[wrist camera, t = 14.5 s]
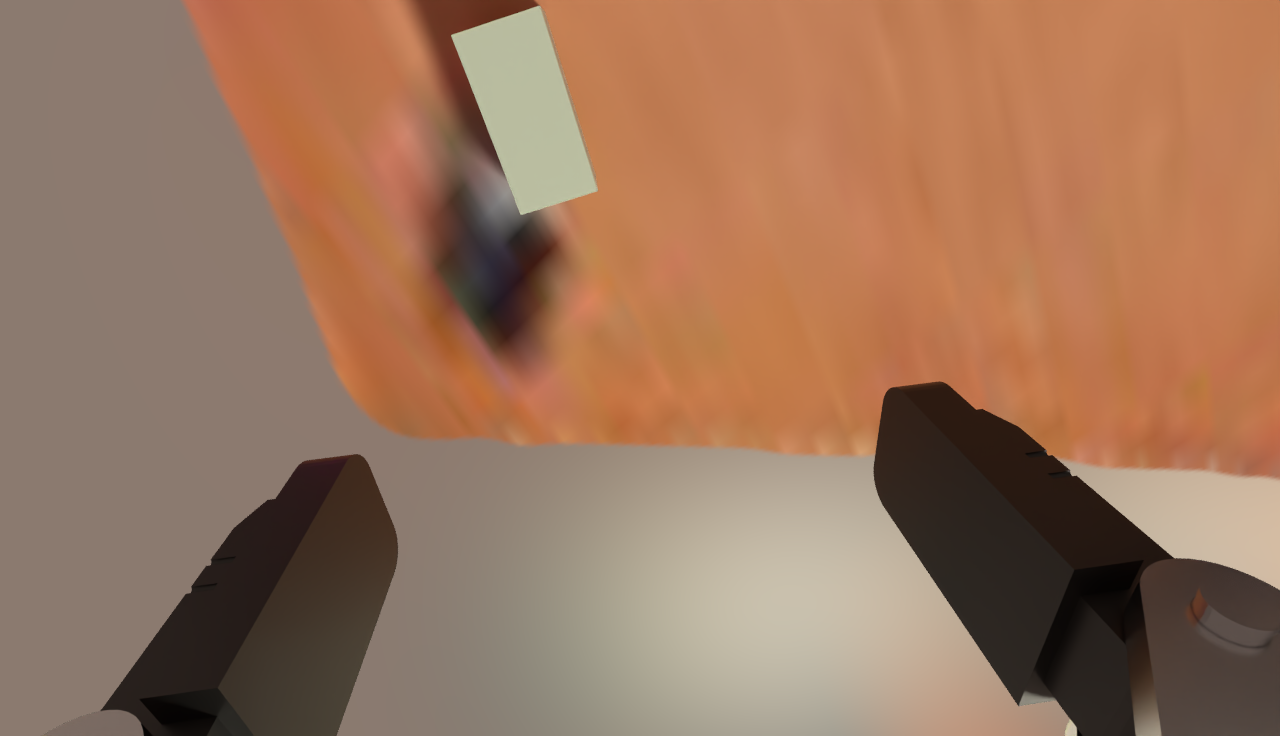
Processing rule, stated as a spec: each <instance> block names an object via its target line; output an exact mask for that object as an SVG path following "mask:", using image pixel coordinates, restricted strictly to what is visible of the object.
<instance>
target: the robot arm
mask: <svg viewBox="0 0 1280 736" xmlns="http://www.w3.org/2000/svg"><path fill="white" fill-rule="evenodd" d="M1046 451H1047V450H1045V449H1044V448H1043V447H1042V446H1041V445H1040V444H1038V443H1037V442H1036V441H1035V440H1034V439H1032V438H1031V437H1030V436H1029V435H1028V434H1027V433H1025V432H1024V431H1023V430H1022V429H1021V428H1019V427H1018V426H1016V425H1014V424H1012V423H1010V422H1008V421H1006V420H1004V419H1002V418H999V417H997V416H995V415H993V414H991V413H989V412H987V411H985V410H983V409H979V410H976V409H975V408H974V407H972V406H971V405H970V404H969V403H968V402H967V401H966V400H965V399H963V398H962V397H961V396H960V395H959V394H958V393H957V392H956V391H954V390H953V389H952V388H951V387H950V386H949V385H947V384H946V383H944V382H932V383H924V384H916V385H908V386H901V387H893V388H890V389H889V390H888V391H887V392H886V394H885V396H884V400H883V405H882V412H881V419H880V426H879V433H878V440H877V447H876V454H875V462H874V480H875V485H876V489H877V493H878V496H879V498H880V500H881V502H882V504H883V506H884V508H885V509H886V511H887V512H888V513H889V515H890V516H891V518H892V519H893V521H894V522H895V524H896V525H897V527H898V528H899V530H900V531H901V533H902V534H903V536H904V537H905V539H906V540H907V542H908V543H909V545H910V546H911V547H912V549H913V551H914V552H915V554H916V555H917V557H918V558H919V559H920V561H921V562H922V564H923V565H924V567H925V568H926V570H927V571H928V573H929V574H930V576H931V577H932V579H933V580H934V582H935V583H936V585H937V586H938V588H939V589H940V590H941V592H942V594H943V595H944V596H945V598H946V599H947V601H948V602H949V604H950V605H951V607H952V608H953V610H954V611H955V613H956V614H957V616H958V617H959V619H960V620H961V621H962V623H963V625H964V626H965V628H966V629H967V630H968V632H969V634H970V635H971V636H972V638H973V639H974V641H975V642H976V644H977V645H978V647H979V648H980V650H981V651H982V653H983V654H984V656H985V657H986V659H987V660H988V662H989V663H990V664H991V666H992V668H993V669H994V671H995V672H996V674H997V675H998V676H999V678H1000V679H1001V681H1002V682H1003V684H1004V685H1005V687H1006V688H1007V690H1008V691H1009V693H1010V694H1011V696H1012V697H1013V699H1014V700H1015V702H1016V703H1017V705H1018V706H1022V705H1029V704H1035V703H1042V702H1047V701H1055V700H1057V702H1058V703H1059V704H1060V706H1061V707H1062V709H1063V710H1064V711H1065V713H1066V714H1067V715H1068V717H1069V718H1070V720H1069V722H1068V724H1067V727H1066V729H1065V736H1280V590H1278V589H1277V588H1275V587H1273V586H1271V585H1270V584H1268V583H1266V582H1264V581H1261V580H1259V579H1257V578H1255V577H1253V576H1251V575H1248V574H1246V573H1243V572H1241V571H1238V570H1235V569H1233V568H1229V567H1226V566H1223V565H1220V564H1216V563H1211V562H1207V561H1202V560H1195V559H1181V558H1179V559H1178V558H1176V559H1175V558H1173V557H1172V556H1171V555H1169V554H1168V553H1167V552H1166V551H1165V550H1164V549H1162V548H1161V547H1160V546H1159V545H1158V544H1156V543H1155V542H1154V541H1153V540H1152V539H1151V538H1150V537H1148V536H1147V535H1146V534H1145V533H1144V532H1142V531H1141V530H1140V529H1139V528H1138V527H1136V526H1135V525H1134V524H1133V523H1132V522H1131V521H1129V520H1128V519H1127V518H1126V517H1125V516H1123V515H1122V514H1121V513H1120V512H1119V511H1118V510H1116V509H1115V508H1114V507H1113V506H1112V505H1110V504H1109V503H1108V502H1107V501H1106V500H1105V499H1103V498H1102V497H1101V496H1100V495H1099V494H1097V493H1096V492H1095V491H1094V490H1093V489H1092V488H1090V487H1089V486H1088V485H1087V484H1086V483H1084V482H1083V481H1082V480H1081V479H1080V478H1079V477H1077V476H1071V474H1070V470H1069V469H1068V468H1067V467H1066V466H1064V465H1063V464H1062V463H1061V462H1060V461H1058V460H1057V459H1056V458H1055V457H1054V456H1053V455H1050V456H1048V455H1047V453H1046ZM397 557H398V543H397V535H396V531H395V528H394V525H393V523H392V520H391V518H390V515H389V513H388V511H387V508H386V506H385V503H384V501H383V498H382V496H381V494H380V491H379V489H378V486H377V484H376V481H375V479H374V477H373V474H372V472H371V469H370V467H369V464H368V463H367V461H366V460H365V458H364V457H362V456H361V455H358V454H355V455H347V456H340V457H332V458H323V459H315V460H309V461H308V460H307V461H304V462H302V463H301V464H300V465H299V466H298V467H297V468H296V469H295V471H294V472H293V474H292V475H291V477H290V478H289V480H288V481H287V483H286V484H285V486H284V487H283V488H282V490H281V491H280V493H279V494H278V496H277V497H276V499H272V500H267V501H266V502H265V503H263V504H262V505H261V506H260V507H259V508H258V509H256V510H255V511H254V512H253V513H252V514H250V515H249V516H248V517H247V518H245V519H244V520H243V521H242V522H241V523H239V524H238V525H237V526H236V527H235V528H234V529H233V530H232V531H231V533H230V534H229V535H228V537H227V538H226V540H225V541H224V543H223V544H222V545H221V547H220V548H219V549H218V551H217V552H216V553H215V555H214V556H213V557H212V559H211V561H212V563H211V566H206V567H205V569H204V570H203V571H202V573H201V574H200V575H199V577H198V578H197V579H196V581H195V582H194V584H193V585H192V592H191V593H189V594H186V595H185V596H184V597H183V599H182V600H181V601H180V603H179V604H178V605H177V607H176V609H175V610H174V611H173V612H172V614H171V615H170V616H169V618H168V619H167V621H166V622H165V623H164V625H163V626H162V628H161V629H160V630H159V632H158V633H157V634H156V636H155V637H154V638H153V640H152V641H151V643H150V644H149V645H148V647H147V648H146V649H145V651H144V652H143V654H142V655H141V656H140V658H139V659H138V661H137V662H136V663H135V665H134V666H133V667H132V669H131V670H130V671H129V673H128V674H127V676H126V677H125V678H124V680H123V681H122V682H121V684H120V685H119V687H118V688H117V689H116V691H115V692H114V694H113V695H112V696H111V697H110V699H109V700H108V702H107V703H106V704H105V706H104V707H103V708H102V709H101V711H99V712H94V713H91V714H87V715H84V716H81V717H78V718H76V719H73V720H71V721H69V722H66V723H64V724H62V725H60V726H58V727H56V728H54V729H53V730H51V731H49V732H47V733H45V734H44V735H42V736H336V735H337V732H338V730H339V727H340V724H341V721H342V718H343V715H344V712H345V710H346V707H347V704H348V702H349V699H350V696H351V693H352V690H353V687H354V684H355V682H356V679H357V676H358V673H359V671H360V668H361V665H362V662H363V659H364V656H365V654H366V650H367V648H368V645H369V642H370V640H371V637H372V634H373V631H374V628H375V626H376V623H377V620H378V617H379V614H380V611H381V609H382V606H383V603H384V600H385V598H386V595H387V592H388V589H389V586H390V583H391V580H392V578H393V575H394V572H395V569H396V564H397Z"/></svg>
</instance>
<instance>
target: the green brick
mask: <svg viewBox="0 0 1280 736" xmlns="http://www.w3.org/2000/svg"><path fill="white" fill-rule="evenodd" d="M451 37H452V39H453V42H454V44H455V47H456V49H457V52H458V55H459V57H460V60H461V62H462V65H463V67H464V70H465V73H466V75H467V78H468V80H469V83H470V85H471V88H472V91H473V93H474V96H475V98H476V101H477V103H478V106H479V109H480V111H481V114H482V116H483V119H484V121H485V124H486V127H487V129H488V132H489V134H490V137H491V139H492V142H493V145H494V147H495V150H496V152H497V155H498V157H499V160H500V163H501V165H502V168H503V170H504V173H505V175H506V178H507V181H508V183H509V186H510V188H511V191H512V193H513V196H514V199H515V201H516V204H517V206H518V209H519V212H520V214H521V215H523V214H526V213H529V212H532V211H536V210H539V209H542V208H545V207H548V206H552V205H555V204H558V203H561V202H564V201H568V200H571V199H574V198H577V197H580V196H583V195H587V194H590V193H593V192H596V191H598V188H597V181H596V174H595V171H594V168H593V165H592V161H591V158H590V155H589V152H588V148H587V145H586V142H585V139H584V136H583V132H582V129H581V126H580V123H579V120H578V116H577V113H576V110H575V107H574V103H573V100H572V97H571V94H570V91H569V87H568V84H567V81H566V78H565V74H564V71H563V68H562V65H561V62H560V58H559V55H558V52H557V49H556V45H555V42H554V39H553V36H552V33H551V29H550V26H549V23H548V20H547V17H546V13H545V11H544V10H543V9H542V8H541V6H537V7H534V8H531V9H528V10H525V11H522V12H519V13H516V14H513V15H510V16H507V17H504V18H501V19H498V20H495V21H492V22H489V23H486V24H483V25H480V26H477V27H474V28H471V29H468V30H465V31H462V32H459V33H456V34H453V35H451Z"/></svg>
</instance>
